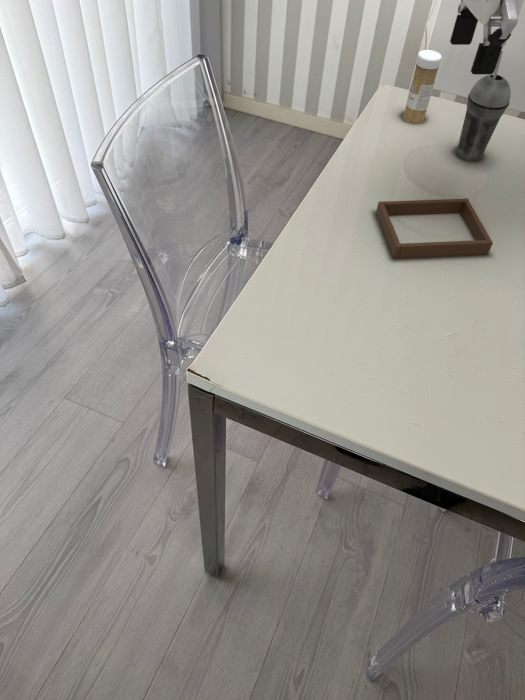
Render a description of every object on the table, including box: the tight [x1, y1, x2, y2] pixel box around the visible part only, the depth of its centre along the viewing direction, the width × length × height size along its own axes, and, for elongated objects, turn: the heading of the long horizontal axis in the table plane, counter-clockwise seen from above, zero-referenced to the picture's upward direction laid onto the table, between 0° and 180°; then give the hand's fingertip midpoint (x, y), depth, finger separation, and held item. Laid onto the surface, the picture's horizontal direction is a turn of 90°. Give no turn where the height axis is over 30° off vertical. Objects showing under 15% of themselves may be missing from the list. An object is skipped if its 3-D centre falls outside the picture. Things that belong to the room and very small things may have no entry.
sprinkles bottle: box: [402, 49, 443, 124], centre depth 113 cm, size 5×5×14 cm
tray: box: [375, 198, 494, 260], centre depth 93 cm, size 16×12×3 cm
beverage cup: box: [456, 50, 512, 162], centre depth 102 cm, size 7×7×20 cm
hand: (470, 58), depth 83 cm, fingers open, 9 cm apart
